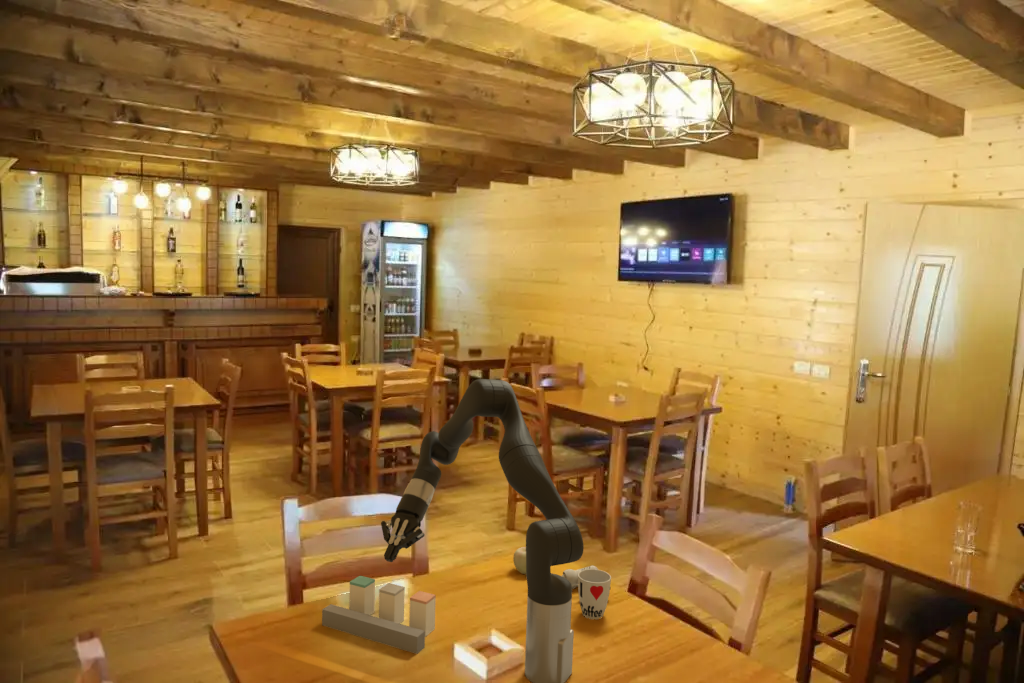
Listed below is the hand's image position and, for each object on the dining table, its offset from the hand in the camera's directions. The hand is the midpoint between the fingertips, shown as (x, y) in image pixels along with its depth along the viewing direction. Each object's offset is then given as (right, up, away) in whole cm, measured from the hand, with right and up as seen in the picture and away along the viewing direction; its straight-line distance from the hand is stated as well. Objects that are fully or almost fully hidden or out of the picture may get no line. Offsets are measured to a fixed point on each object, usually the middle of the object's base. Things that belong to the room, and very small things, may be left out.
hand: (388, 560), depth 178 cm
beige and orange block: (+10, -11, -15) cm, 22 cm away
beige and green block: (-5, -10, -8) cm, 14 cm away
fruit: (+35, -10, +22) cm, 42 cm away
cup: (+51, -13, -3) cm, 53 cm away
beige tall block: (+3, -11, -12) cm, 16 cm away
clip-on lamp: (+47, -12, +9) cm, 49 cm away
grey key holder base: (+2, -12, -13) cm, 18 cm away
